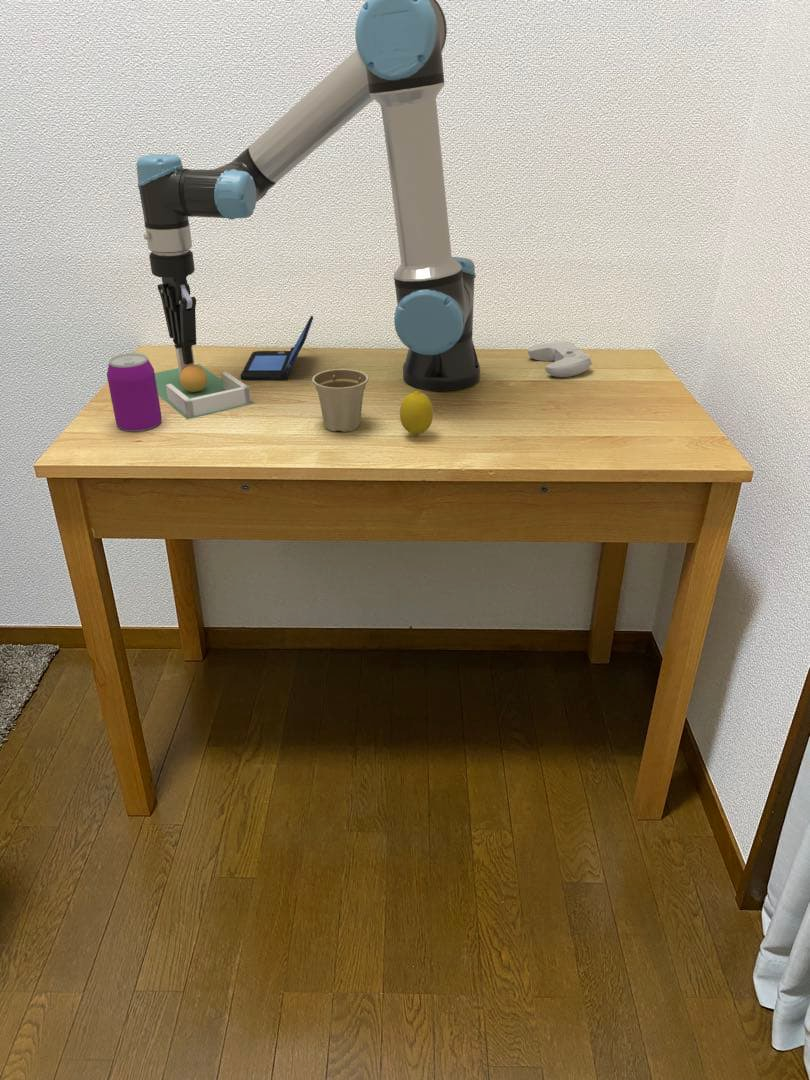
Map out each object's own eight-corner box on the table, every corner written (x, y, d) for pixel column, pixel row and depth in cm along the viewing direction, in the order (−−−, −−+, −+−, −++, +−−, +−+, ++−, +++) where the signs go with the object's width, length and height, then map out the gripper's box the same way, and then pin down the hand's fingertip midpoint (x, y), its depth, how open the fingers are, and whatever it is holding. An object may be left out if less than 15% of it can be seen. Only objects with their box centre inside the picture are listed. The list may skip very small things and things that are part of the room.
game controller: (523, 343, 176) (568, 330, 177) (526, 363, 179) (570, 350, 180) (549, 366, 164) (597, 352, 165) (551, 387, 167) (599, 373, 168)
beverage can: (115, 420, 150) (102, 354, 144) (160, 414, 152) (149, 349, 146) (119, 437, 144) (105, 369, 137) (165, 430, 146) (154, 363, 140)
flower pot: (333, 411, 153) (331, 365, 149) (379, 420, 149) (378, 373, 145) (304, 430, 146) (301, 382, 141) (351, 440, 142) (350, 391, 138)
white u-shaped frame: (251, 403, 155) (249, 387, 154) (188, 417, 150) (186, 401, 148) (228, 386, 163) (226, 371, 161) (168, 400, 157) (165, 384, 155)
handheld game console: (253, 357, 179) (249, 313, 174) (316, 357, 179) (314, 313, 174) (239, 383, 166) (234, 337, 161) (307, 384, 166) (304, 337, 161)
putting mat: (254, 405, 156) (254, 403, 155) (187, 421, 149) (187, 419, 149) (199, 365, 174) (198, 363, 174) (137, 378, 168) (136, 376, 167)
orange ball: (198, 364, 162) (205, 390, 163) (173, 368, 160) (180, 395, 161) (207, 361, 158) (213, 388, 159) (181, 366, 155) (188, 393, 157)
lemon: (433, 429, 146) (434, 385, 142) (431, 443, 141) (432, 397, 137) (401, 428, 146) (401, 384, 142) (398, 442, 142) (398, 396, 137)
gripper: (137, 246, 153) (157, 372, 165) (163, 261, 143) (182, 392, 156) (177, 241, 156) (193, 364, 169) (205, 255, 147) (220, 384, 159)
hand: (188, 378), depth 162 cm, fingers closed
